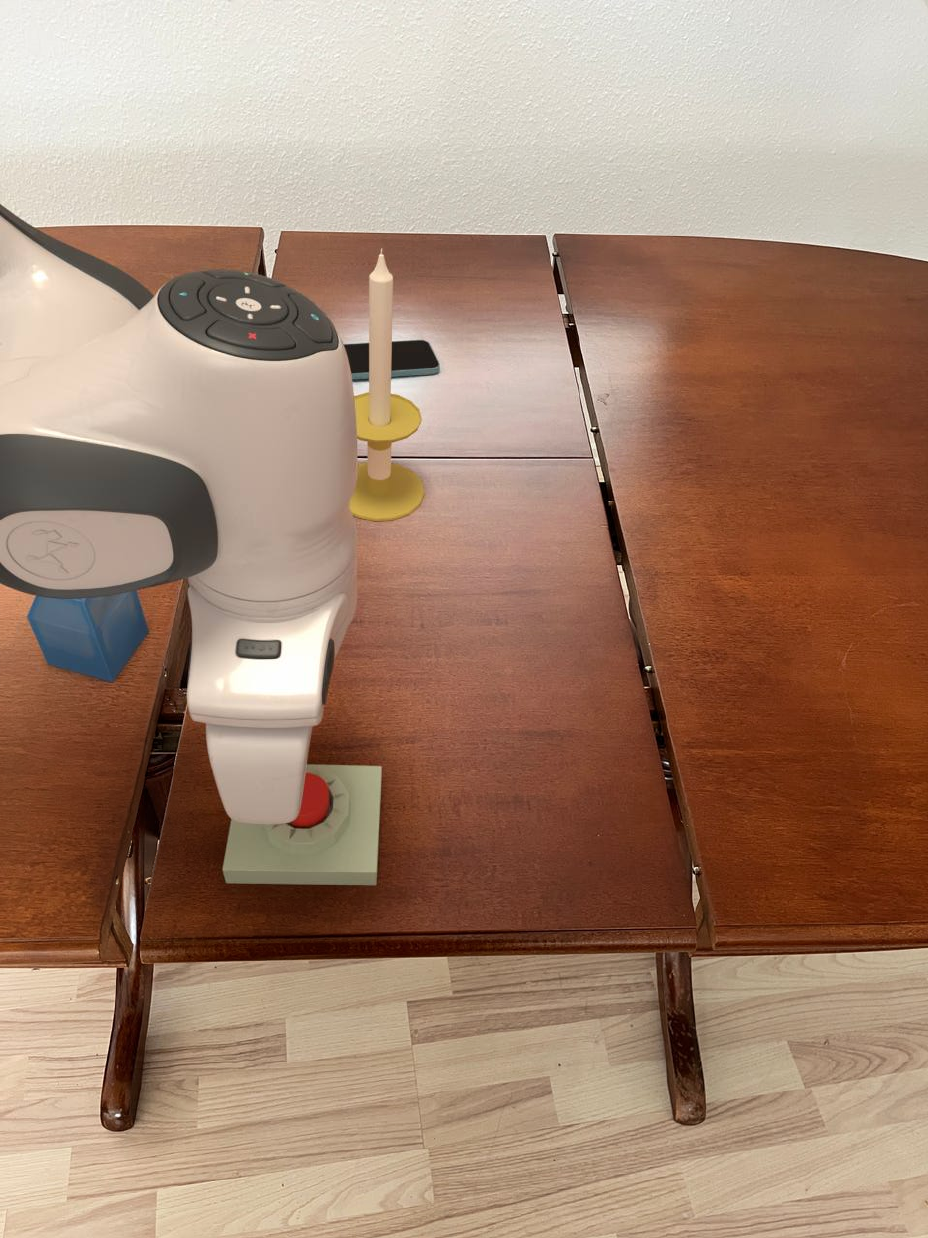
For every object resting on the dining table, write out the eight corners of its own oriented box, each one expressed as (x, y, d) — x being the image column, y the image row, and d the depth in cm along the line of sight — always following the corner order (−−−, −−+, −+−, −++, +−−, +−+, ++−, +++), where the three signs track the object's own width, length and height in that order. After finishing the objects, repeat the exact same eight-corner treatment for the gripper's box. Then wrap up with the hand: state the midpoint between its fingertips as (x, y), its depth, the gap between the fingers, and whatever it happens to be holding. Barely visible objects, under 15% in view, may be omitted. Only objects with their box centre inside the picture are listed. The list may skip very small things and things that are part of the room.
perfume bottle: (47, 664, 75) (4, 566, 66) (87, 614, 79) (51, 516, 70) (112, 682, 74) (77, 585, 65) (148, 631, 78) (120, 534, 69)
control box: (225, 883, 63) (218, 858, 60) (244, 777, 69) (238, 749, 66) (376, 885, 64) (376, 861, 61) (381, 780, 70) (382, 753, 67)
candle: (347, 529, 90) (341, 281, 70) (322, 471, 96) (309, 228, 76) (437, 511, 93) (455, 269, 73) (407, 456, 99) (416, 219, 79)
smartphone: (442, 368, 110) (325, 375, 106) (441, 375, 111) (326, 383, 107) (427, 338, 115) (315, 345, 111) (427, 346, 115) (315, 352, 111)
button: (277, 827, 62) (275, 815, 61) (283, 784, 65) (281, 771, 63) (327, 828, 62) (326, 816, 61) (331, 785, 65) (330, 772, 64)
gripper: (244, 457, 53) (262, 608, 63) (178, 732, 39) (214, 869, 49) (346, 463, 53) (348, 612, 64) (317, 737, 40) (325, 871, 50)
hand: (289, 727), depth 56 cm, fingers closed
